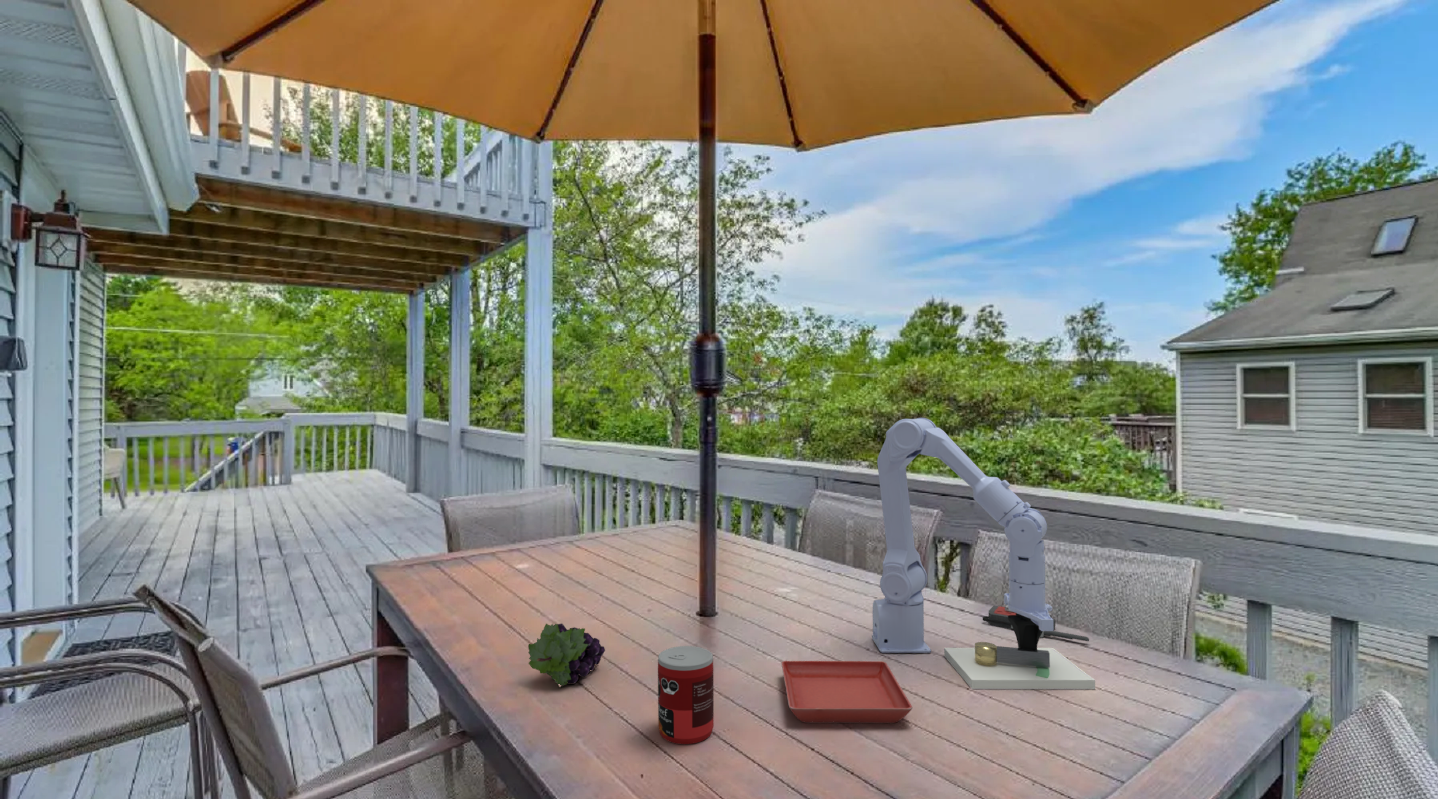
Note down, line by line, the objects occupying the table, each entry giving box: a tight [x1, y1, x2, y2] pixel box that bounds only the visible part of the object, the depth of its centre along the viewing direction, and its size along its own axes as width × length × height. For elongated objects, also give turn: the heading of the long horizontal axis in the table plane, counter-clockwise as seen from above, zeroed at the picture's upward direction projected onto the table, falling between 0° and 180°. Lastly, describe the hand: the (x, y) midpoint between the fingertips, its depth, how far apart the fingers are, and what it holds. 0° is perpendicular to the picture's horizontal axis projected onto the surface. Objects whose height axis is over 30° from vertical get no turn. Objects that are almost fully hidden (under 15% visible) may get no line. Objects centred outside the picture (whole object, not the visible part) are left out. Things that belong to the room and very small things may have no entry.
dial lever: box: [974, 641, 1050, 667], centre depth 113 cm, size 12×4×3 cm, turn 74°
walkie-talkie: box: [981, 605, 1090, 642], centre depth 134 cm, size 9×4×20 cm
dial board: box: [943, 647, 1096, 690], centre depth 114 cm, size 20×14×2 cm
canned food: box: [657, 645, 715, 745], centre depth 94 cm, size 8×8×11 cm
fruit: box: [527, 622, 606, 687], centre depth 113 cm, size 10×10×15 cm
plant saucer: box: [780, 660, 913, 724], centre depth 103 cm, size 18×18×3 cm
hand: (1027, 658), depth 113 cm, fingers closed, pressing on dial lever
